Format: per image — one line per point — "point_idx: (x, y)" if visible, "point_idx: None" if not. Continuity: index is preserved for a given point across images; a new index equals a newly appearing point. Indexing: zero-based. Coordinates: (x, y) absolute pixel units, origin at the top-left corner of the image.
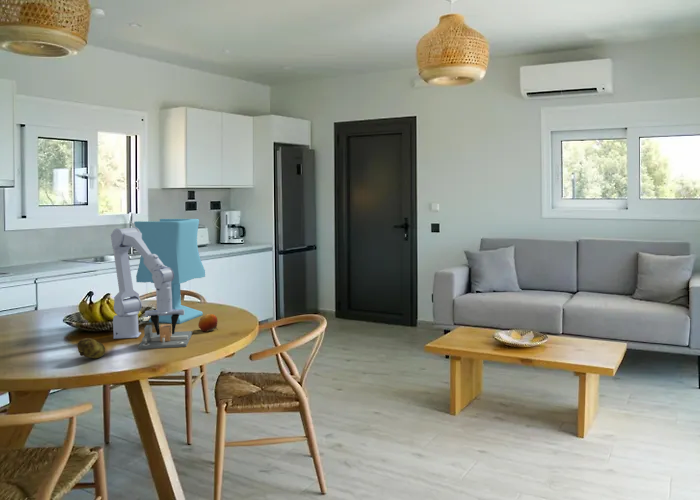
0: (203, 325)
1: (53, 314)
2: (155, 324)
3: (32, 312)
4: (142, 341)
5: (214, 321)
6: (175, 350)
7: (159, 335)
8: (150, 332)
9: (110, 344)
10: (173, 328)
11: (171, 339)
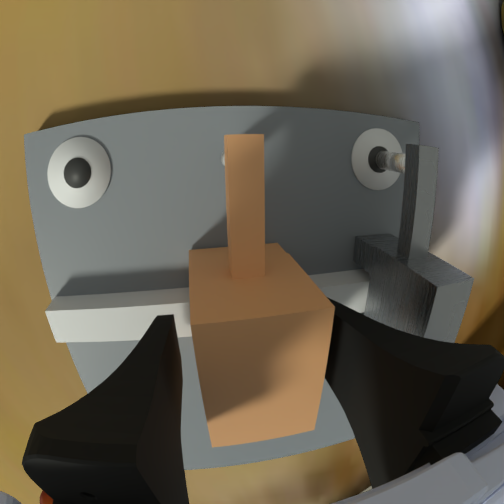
0: None
1: None
2: (400, 341)
3: None
4: None
5: (41, 501)
6: (105, 16)
7: None
8: (394, 295)
9: (500, 267)
10: (145, 345)
11: (184, 291)
